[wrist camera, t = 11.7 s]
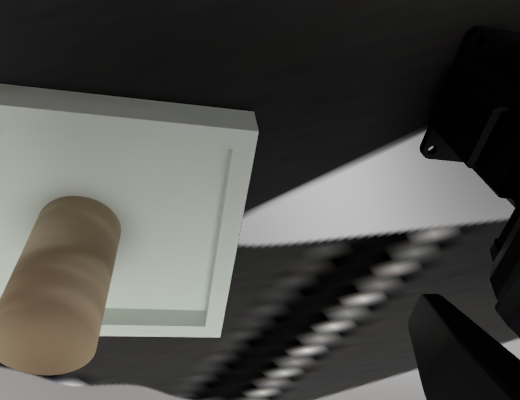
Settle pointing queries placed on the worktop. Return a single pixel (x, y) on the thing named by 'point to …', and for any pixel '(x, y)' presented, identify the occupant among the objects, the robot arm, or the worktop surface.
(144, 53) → the worktop surface
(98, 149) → the tray
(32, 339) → the dowel
